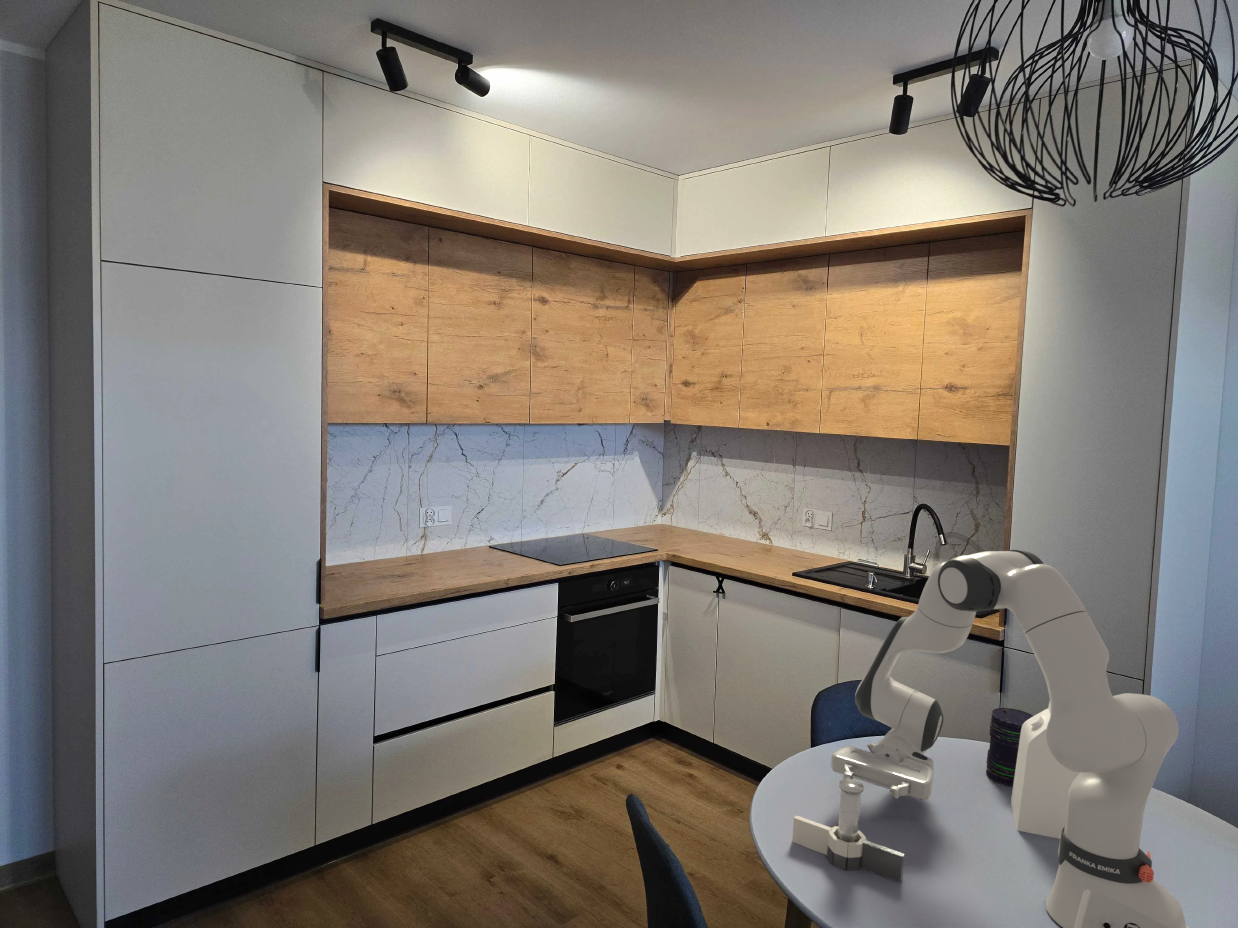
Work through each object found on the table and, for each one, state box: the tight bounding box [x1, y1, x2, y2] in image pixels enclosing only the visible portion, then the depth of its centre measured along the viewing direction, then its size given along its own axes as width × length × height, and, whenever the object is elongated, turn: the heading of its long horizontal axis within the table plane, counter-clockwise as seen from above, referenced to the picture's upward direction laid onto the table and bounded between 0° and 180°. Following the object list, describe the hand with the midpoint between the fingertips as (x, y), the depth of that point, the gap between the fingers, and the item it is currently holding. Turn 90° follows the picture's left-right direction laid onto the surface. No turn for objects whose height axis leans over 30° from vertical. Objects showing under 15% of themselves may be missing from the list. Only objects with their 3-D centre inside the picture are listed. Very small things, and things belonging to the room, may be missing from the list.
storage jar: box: [985, 707, 1034, 788], centre depth 196 cm, size 10×10×15 cm
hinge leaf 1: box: [791, 815, 867, 858], centre depth 161 cm, size 14×6×5 cm, turn 55°
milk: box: [1010, 701, 1080, 840], centre depth 176 cm, size 12×12×26 cm
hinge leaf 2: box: [826, 839, 905, 883], centre depth 157 cm, size 14×6×5 cm, turn 55°
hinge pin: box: [837, 778, 865, 843], centre depth 159 cm, size 4×4×15 cm
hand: (869, 786), depth 168 cm, fingers open, 8 cm apart
